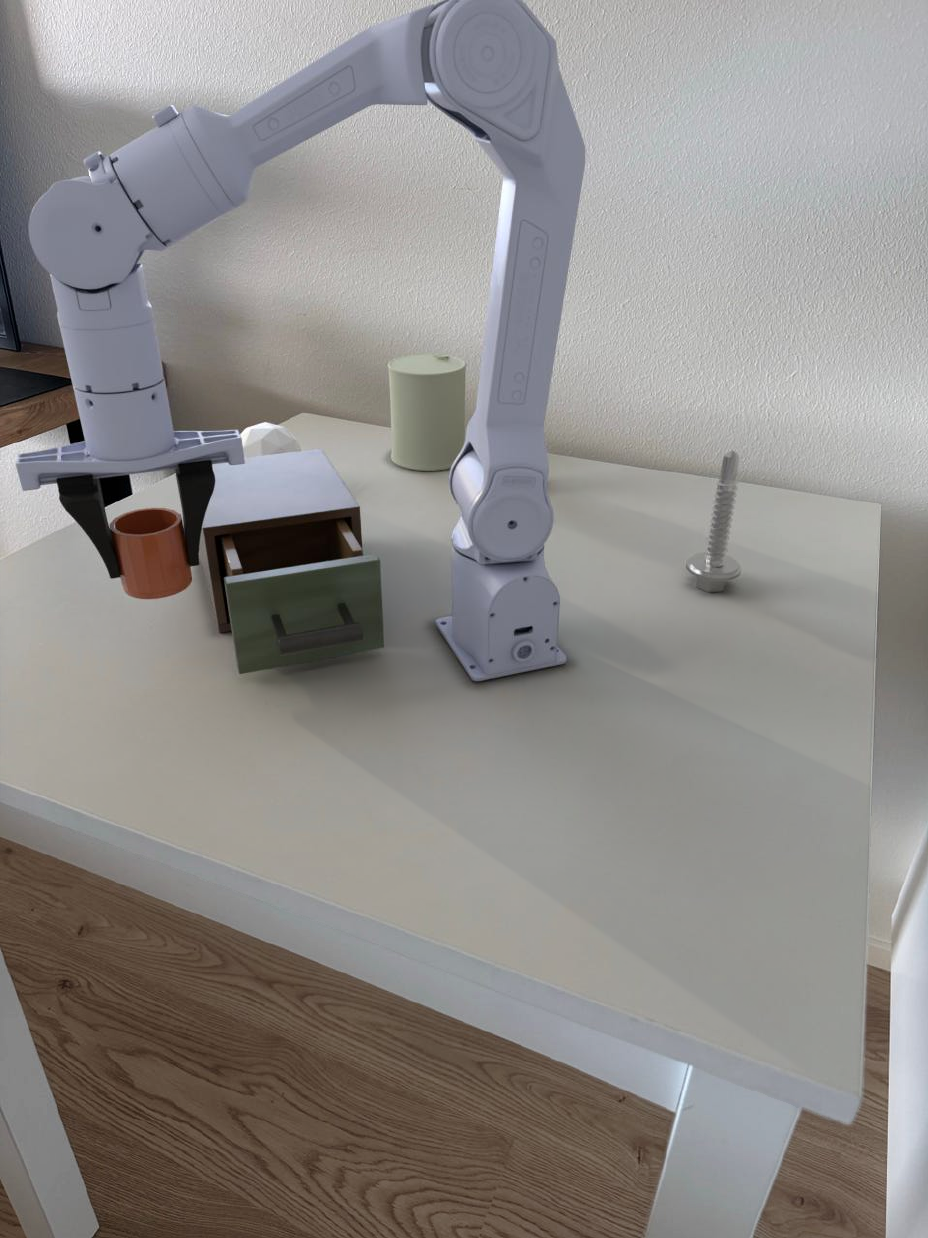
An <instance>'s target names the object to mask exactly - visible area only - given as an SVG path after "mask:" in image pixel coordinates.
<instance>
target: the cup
mask: <svg viewBox="0 0 928 1238" xmlns="http://www.w3.org/2000/svg"><path fill="white" fill-rule="evenodd" d="M109 528H110V532H111V537H112V541H113V546H114V551H115V555H116V558H117V562H118V566H119V570H120V575H121V577H120V578H119V579H120V582H121V585H122V589H123V590H122V591H123V592H124V593H125V594H126V595H127V596H129V597H131V598H135V599H139V600H158V599H159V600H160V599H164V598H168V597H172V596H174V595H177V594H179V593H182V592H183V591H185V590H187V588H189V586H191V584H192V582H193V575H192V568H191V567H190V565H189V559H188V554H187V545H186V539H185V534H184V526H183V516H182V514H181V513H179V512H178V511H177V510H175V509H170V508H165V507H146V508H139V509H135V510H131V511H127V512H125V513H122V514H120V515H118V516H116V517H115V518H113V520H111V522H110V523H109Z"/></svg>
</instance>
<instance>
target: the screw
mask: <svg viewBox="0 0 928 1238" xmlns="http://www.w3.org/2000/svg"><path fill="white" fill-rule="evenodd" d="M739 462H740V454H738V453H737V452H736V451H734V450H730V451H727V452H725V453H724V455H723V458H722V463H721V469H720V474H719V475H718V477H719V479H718V481H716V485H717V487H715V488H714V491H715V494H714V495H713V497H714V500H713V501H712V503H713V505H714V506H713V507H711V509H712V511H713V512H712V513H710V516H711V517H712V518H711V519H710V520H709V522H710V523H711V524H710V525H709V526H708V528H709V529H710V530H709V531H708V532H707V534H708V535H709V537H706V540H707V541H708V542H707V543H706V544H705V545H706V547H707V548H706V549H705V550H704V552H698V553H695V554H693V555H692V556H690V557H688V558H687V560H686V563H685V569H686V570H687V571H688V572H689V573H690V574H691V575H692V576H694V577H696V583H695V588H698V589H700V590H702V591H704V592H706V593H718V592H724V589H725V585H726V582H727V581H732V580H735V579H737V578H739V576H740V575H741V573H742V566H741V565H740V563H739V562H738V561H737V560H736V559H735V558H734V557H732V556H730V555H727V554H726V553H727V552H728V548H727V547H728V546H729V542H728V541H729V540H730V534H731V528H732V524H731V523H732V522H733V518H732V517H733V515H734V511H733V510H735V505H734V504H735V503H736V497H737V491H738V489H739V488H738V486H737V484H738V483H739V480H738V479H737V476H738V475H737V474H738V468H739Z"/></svg>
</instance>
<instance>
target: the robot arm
mask: <svg viewBox="0 0 928 1238" xmlns="http://www.w3.org/2000/svg"><path fill="white" fill-rule="evenodd" d="M557 45H558V44H557V40H556V39H555V38H554V36H553V35H552V34H551V33H550V32H549V31H548V30H547V28H546V27H545V26H544V25H543V23H542V22H541V21H540V20H539V19H538V17H537V15H535V14H534V12H533V11H532V9H530V8H529V6H528V5H527V4H526V2H524V1H523V0H441V1H439V2H437V3H432V4H429V5H425V6H423V7H421V8H418V9H414V10H412V11H410V12H407V13H404V14H401V15H398V16H396V17H393V18H390V19H388V20H385V21H382V22H380V23H377V24H374V25H372V26H369V27H367V28H365V29H363V30H361V31H360V32H358V33H357V34H355V35H353V36H352V37H350V38H349V39H347V40H345V41H344V42H343V43H341V44H340V45H338V46H336V47H335V48H333V49H331V50H330V51H329V52H327V53H324V55H322V56H320V57H318V58H317V59H316V60H315V61H313V62H311V63H309V64H308V65H307V66H305V67H303V68H302V69H300V70H298V71H297V72H296V73H294V74H292V75H291V76H289V77H287V78H286V79H284V80H283V81H281V82H279V83H278V84H277V85H275V86H273V87H271V88H270V89H268V90H267V91H265V92H264V93H262V94H261V95H259V96H257V97H256V98H254V99H253V100H251V101H249V102H248V103H246V104H245V105H243V106H242V107H241V108H239V109H237V110H235V111H234V112H232V113H231V114H228V115H227V114H222V113H219V112H216V111H214V110H211V109H209V108H206V107H205V106H204V107H203V106H201V105H197V104H192V105H190V106H188V107H186V108H185V109H183V110H182V111H179V112H178V111H177V108H176V107H175V106H174V104H173V105H172V104H169V105H167V106H165V107H163V108H161V109H160V110H158V111H156V112H155V113H154V114H152V120H153V122H154V124H155V125H156V126H155V127H153V128H152V129H150V130H147V132H145V133H144V134H142V135H140V136H139V137H137V138H135V139H133V140H132V141H130V142H128V143H127V144H125V145H123V146H122V147H120V148H118V149H117V150H115V151H113V152H112V153H110V154H108V155H107V156H104V155H103V153H102V152H101V151H95V152H94V153H92V154H90V155H88V156H87V157H86V158H84V159H83V164H84V166H85V167H86V169H87V171H88V176H87V175H83V176H77V177H74V178H70V179H64V180H63V179H61V180H58V181H55V182H54V183H52V184H51V186H50V187H49V189H48V190H46V191H45V192H44V193H43V194H42V195H41V196H40V197H39V198H38V200H36V202H35V204H34V206H33V207H32V209H31V212H30V215H29V219H28V238H29V242H30V246H31V249H32V251H33V253H34V255H35V257H36V259H37V260H38V261H39V264H40V265H41V266H42V267H43V268H44V270H45V271H46V272H47V273H49V277H50V281H51V285H52V292H53V295H54V300H55V304H56V308H57V313H56V317H57V322H58V326H59V331H60V335H61V339H62V343H63V349H64V353H65V357H66V361H67V366H68V370H69V371H68V372H69V375H70V379H71V384H72V388H73V392H74V393H73V394H74V398H75V402H76V406H77V411H78V415H79V420H80V424H81V429H82V433H83V437H84V440H83V441H80V442H73V443H69V444H65V445H60V446H55V447H51V448H48V449H43V450H37V451H36V450H35V451H31V452H23V453H17V455H16V459H15V468H16V471H17V475H18V478H19V479H18V480H19V482H20V486H21V490H22V492H25V491H26V492H28V491H35V490H39V489H41V488H42V487H41V486H46V485H54V484H56V485H57V490H58V500H59V502H60V504H61V506H62V507H63V509H64V510H65V511H66V512H67V513H68V514H69V516H70V517H72V519H73V520H74V521H75V522H76V523H77V524H78V526H79V527H80V528H81V529H82V531H83V532H84V533H85V535H86V536H87V537H88V539H89V540H90V541H91V542H92V544H93V545H94V547H95V549H96V550H97V552H98V554H99V556H100V557H101V560H102V561H103V563H104V566H105V567H106V570H107V572H108V575H109V579H111V580H112V579H121V578H120V577H121V575H120V570H119V566H118V562H117V558H116V555H115V551H114V546H113V541H112V537H111V532H110V524H109V521H108V517H107V512H106V507H105V502H104V498H103V497H104V496H103V492H102V487H101V483H100V479H104V478H112V477H120V476H128V475H129V476H130V475H134V474H145V473H152V472H153V473H154V472H161V471H170V470H174V473H175V479H176V484H177V489H178V495H179V500H180V506H181V513H182V514H181V515H182V522H183V528H184V534H185V539H186V545H187V554H188V559H189V565H190V568H191V567H196V566H200V554H199V545H200V536H201V530H202V525H203V521H204V517H205V513H206V510H207V507H208V504H209V501H210V499H211V496H212V494H213V491H214V487H215V475H214V472H213V467H212V464H219V463H227V462H228V463H229V464H230V465H239V464H244V463H245V460H244V452H243V445H242V438H241V436H240V434H241V433H240V432H239V430H238V429H227V430H174V425H173V420H172V419H173V418H172V414H171V408H170V403H169V397H168V396H169V395H168V390H167V385H166V384H167V383H166V379H165V374H164V368H163V363H162V355H161V350H160V345H159V344H160V343H159V339H158V333H157V327H156V321H155V315H154V314H155V313H154V308H153V307H152V304H151V302H150V301H149V295H148V290H147V284H146V279H145V273H144V267H143V264H142V263H139V262H140V260H141V258H142V257H143V255H144V253H145V251H158V252H164V251H165V250H167V249H169V248H170V247H172V246H174V245H175V244H177V243H179V242H181V241H182V240H184V239H185V238H187V237H190V236H191V235H193V234H194V233H196V232H197V231H199V230H201V229H203V228H205V227H206V226H209V224H211V223H213V222H214V221H216V220H218V219H220V218H222V217H223V216H225V215H227V214H228V213H230V212H232V211H234V210H236V209H237V208H239V207H240V206H243V205H245V204H246V203H247V202H248V201H250V197H251V194H252V188H253V183H254V177H255V172H256V170H257V168H258V167H260V166H262V165H263V164H265V163H268V162H269V161H272V159H275V158H276V157H279V156H280V155H282V154H284V153H286V152H287V151H290V150H291V149H293V148H295V147H298V146H299V145H300V144H302V143H304V142H306V141H308V140H310V139H311V138H314V137H315V136H317V135H318V134H320V133H323V132H324V131H326V130H328V129H330V128H332V127H333V126H335V125H337V124H339V123H341V122H342V121H344V120H346V119H349V118H350V117H352V116H354V115H356V114H358V113H359V112H361V111H363V110H365V109H367V108H369V107H371V106H376V105H389V106H390V105H391V106H393V105H394V106H428V102H429V104H431V105H432V106H433V107H435V108H436V109H438V111H441V112H442V113H443V114H445V115H446V116H447V117H448V118H449V119H451V120H453V121H454V122H456V123H458V124H459V125H460V126H462V127H463V128H465V129H466V130H467V131H468V132H470V133H471V134H472V136H473V138H474V140H475V141H476V142H477V143H478V145H479V146H480V147H481V148H482V150H483V152H484V153H485V154H486V155H487V156H488V158H489V159H490V160H491V161H492V163H493V164H494V166H495V167H496V168H497V170H498V171H499V172H500V173H501V176H502V183H501V184H502V185H501V186H502V187H501V193H500V202H499V210H498V219H497V227H496V236H495V242H494V243H495V244H494V251H493V261H492V269H491V277H490V278H491V279H490V285H489V294H488V301H487V302H488V303H487V311H486V320H485V329H484V335H483V345H482V352H481V353H482V354H481V363H480V371H479V378H478V385H477V386H478V387H477V396H476V404H475V411H474V413H473V415H472V416H471V418H470V420H469V421H468V423H467V426H466V428H465V442H464V445H463V448H462V450H461V452H460V453H459V455H458V456H457V458H456V459H455V461H454V462H453V464H452V467H451V468H450V469H449V474H448V488H449V491H450V494H451V496H452V498H453V500H454V501H455V503H456V505H458V508H459V510H460V512H461V514H460V516H459V518H458V521H457V523H456V525H455V527H454V528H453V530H452V533H451V615H447V616H442V617H438V618H437V619H435V626H436V628H437V629H438V631H439V632H440V633H441V636H442V637H443V638H444V640H445V641H446V642H447V644H448V646H449V647H450V649H451V650H452V652H453V654H454V655H455V657H456V658H457V659H458V661H459V662H460V664H461V665H462V667H463V668H464V670H465V671H466V673H467V675H468V676H469V677H470V679H471V680H472V681H474V682H483V681H486V680H492V679H497V678H502V677H506V676H512V675H515V674H517V675H518V674H521V673H526V672H530V671H535V670H540V669H545V668H546V669H547V668H549V667H554V666H560V665H564V664H566V663H567V659H568V657H567V655H566V654H565V653H564V652H563V650H562V649H561V648H560V647H559V646H558V638H559V637H558V636H559V625H560V624H559V623H560V611H561V610H560V608H561V597H560V596H561V595H560V592H559V590H558V587H557V585H556V584H555V582H554V581H553V580H552V578H551V576H550V574H549V572H548V570H547V567H546V561H545V543H546V542H547V541H548V539H549V537H550V535H551V534H552V531H553V529H554V528H553V526H554V521H555V520H554V519H555V518H554V517H555V515H554V514H555V513H554V507H553V505H552V503H551V499H550V496H549V492H548V478H549V474H550V463H549V456H548V451H547V443H546V438H545V431H544V430H545V429H544V428H545V427H544V426H545V421H546V414H547V408H548V401H549V396H550V388H551V384H552V383H551V382H552V377H553V376H552V375H553V370H554V365H555V364H554V363H555V358H556V352H557V344H558V339H559V331H560V325H561V319H562V313H563V306H564V301H565V294H566V286H567V281H568V276H569V270H570V269H569V268H570V263H571V257H572V256H571V255H572V250H573V245H574V244H573V243H574V237H575V232H576V225H577V219H578V212H579V205H580V200H581V193H582V188H583V187H582V186H583V180H584V175H585V174H584V173H585V168H586V166H585V165H586V145H585V141H584V138H583V135H582V132H581V129H580V126H579V123H578V121H577V117H576V114H575V112H574V109H573V106H572V103H571V100H570V97H569V94H568V91H567V89H566V84H565V82H564V79H563V76H562V73H561V71H560V66H559V56H558V48H557V47H558V46H557Z"/></svg>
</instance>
